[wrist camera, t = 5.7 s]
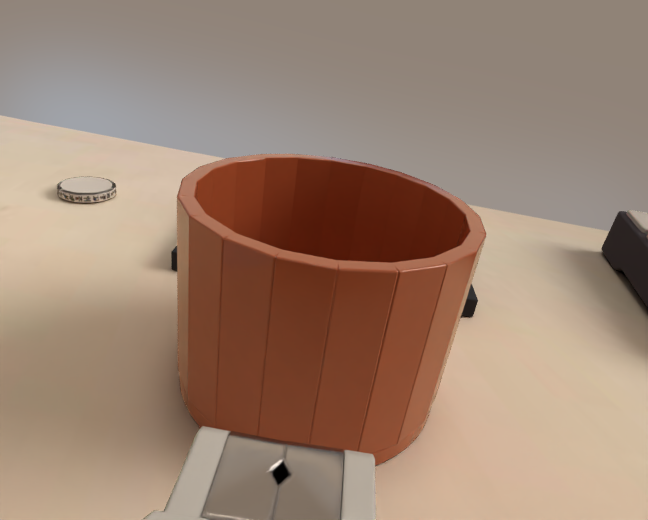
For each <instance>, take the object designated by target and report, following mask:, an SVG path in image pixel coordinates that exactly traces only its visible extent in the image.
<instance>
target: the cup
mask: <svg viewBox="0 0 648 520" xmlns="http://www.w3.org/2000/svg"><path fill="white" fill-rule="evenodd" d="M485 238H486V232H485V229H484V226H483V224H482V221H481V218H480V217H479V215H478V214H476V213H475V212H474V211H473V210H472V209H471V208H470V207H469V206H468V205H467V204H465V203H464V202H463V201H462V200H461V199H459V198H457V197H456V196H453V195H452V194H450V193H448V192H447V191H445V190H443V189H441V188H439V187H437V186H436V185H433V184H431V183H428V182H425V181H423V180H420V179H417V178H415V177H412V176H410V175H407V174H404V173H402V172H398V171H394V170H391V169H386V168H383V167H379V166H375V165H372V164H367V163H362V162H356V161H350V160H345V159H339V158H334V157H332V158H331V157H323V156H312V155H299V154H296V155H295V154H260V155H250V156H242V157H233V158H226V159H223V160H220V161H216V162H213V163H210V164H206V165H203V166H200V167H198V168H197V169H196V170H194V171H193V172H191V173H190V174H188V175H187V176H186V177H184V178H183V179H182V181H181V185H180V188H179V192H178V195H177V308H178V372H179V382H180V390H181V394H182V397H183V400H184V403H185V405H186V407H187V409H188V411H189V412H190V414H191V416H192V417H193V419H194V420H195V421H196V423H197V424H198V425H199V426H200V428H201V427H202V426H206V427H211V428H216V429H222V430H227V431H235V432H240V433H245V434H250V435H256V436H261V437H266V438H271V439H277V440H282V441H293V442H299V443H306V444H313V445H319V446H326V447H333V448H339V449H343V451H344V450H350V451H356V452H363V453H369V454H373V456H374V458H375V465H378V464H381V463H383V462H385V461H387V460H389V459H390V458H392V457H394V456H396V455H397V454H399V453H400V452H401V451H403V450H404V449H405V448H407V447H408V446H409V445H410V444H411V443H412V442H413V441H414V440H415V439H416V438H417V436H418V435H419V434H420V432H421V431H422V429H423V428H424V426H425V423H426V421H427V419H428V416H429V413H430V410H431V407H432V404H433V402H434V400H435V397H436V395H437V391H438V388H439V385H440V382H441V379H442V375H443V372H444V369H445V366H446V363H447V359H448V356H449V353H450V350H451V347H452V344H453V340H454V337H455V334H456V331H457V328H458V324H459V321H460V318H461V315H462V312H463V308H464V305H465V302H466V299H467V296H468V292H469V289H470V286H471V283H472V280H473V276H474V273H475V270H476V267H477V264H478V261H479V257H480V254H481V251H482V248H483V245H484V241H485Z"/></svg>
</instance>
